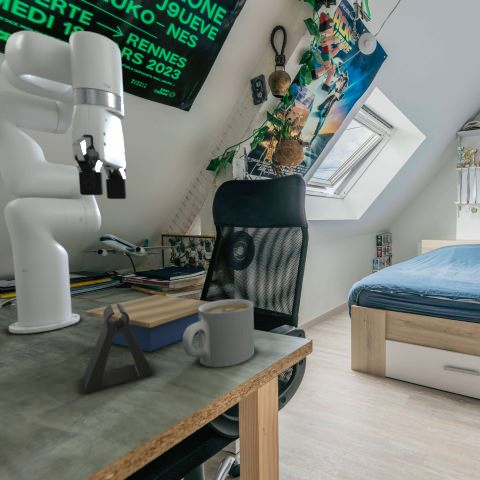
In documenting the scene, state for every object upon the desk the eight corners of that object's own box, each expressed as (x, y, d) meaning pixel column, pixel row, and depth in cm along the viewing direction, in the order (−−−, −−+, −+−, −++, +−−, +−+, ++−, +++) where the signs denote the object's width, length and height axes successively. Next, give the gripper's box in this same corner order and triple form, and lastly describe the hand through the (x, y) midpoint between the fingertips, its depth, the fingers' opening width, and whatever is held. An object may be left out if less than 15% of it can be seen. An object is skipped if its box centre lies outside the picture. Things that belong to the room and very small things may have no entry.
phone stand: (84, 394, 49) (80, 317, 48) (83, 379, 54) (79, 309, 53) (153, 375, 55) (150, 306, 54) (147, 363, 60) (144, 299, 59)
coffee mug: (239, 341, 70) (238, 296, 69) (263, 355, 63) (262, 305, 63) (172, 361, 60) (170, 309, 60) (191, 379, 54) (189, 321, 53)
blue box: (106, 341, 70) (104, 314, 69) (158, 324, 81) (157, 301, 80) (150, 351, 65) (149, 322, 64) (199, 332, 76) (199, 307, 75)
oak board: (85, 315, 69) (85, 311, 69) (156, 298, 83) (156, 294, 83) (149, 328, 61) (149, 322, 61) (215, 306, 76) (215, 302, 76)
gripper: (99, 118, 68) (104, 200, 69) (44, 85, 51) (52, 193, 52) (139, 121, 70) (144, 200, 71) (100, 90, 53) (106, 193, 54)
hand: (105, 197), depth 62 cm, fingers open, 9 cm apart
